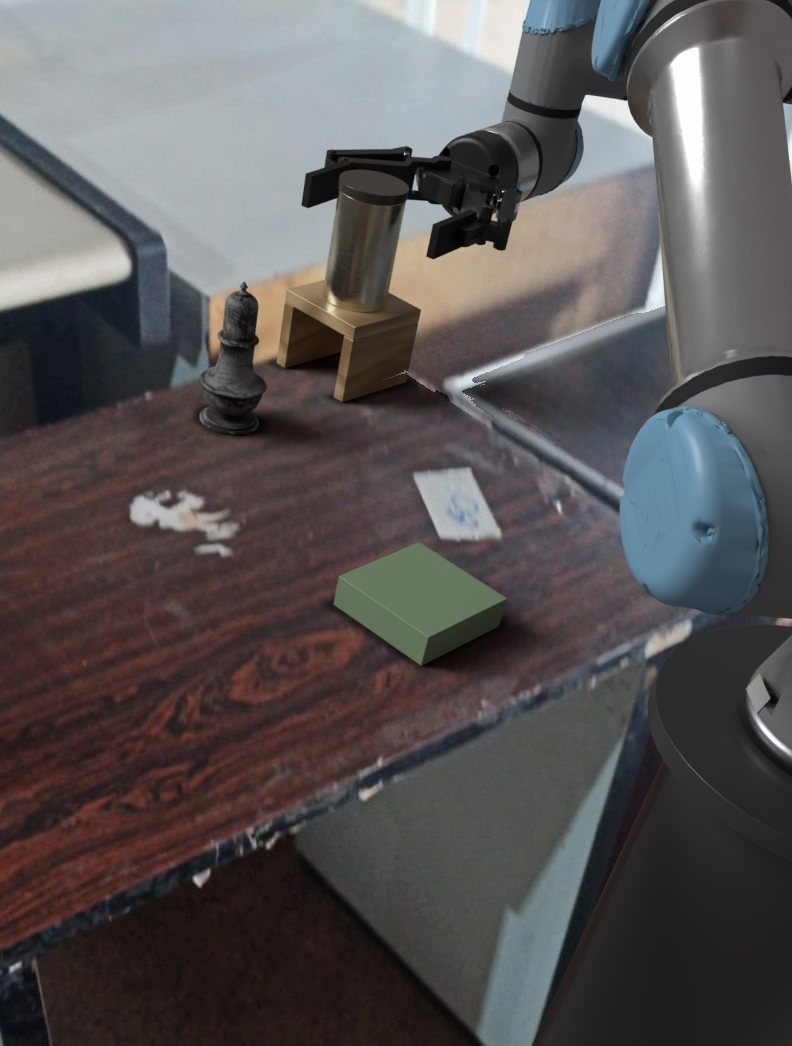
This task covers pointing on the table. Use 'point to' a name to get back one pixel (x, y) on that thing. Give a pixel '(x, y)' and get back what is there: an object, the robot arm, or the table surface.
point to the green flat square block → (419, 602)
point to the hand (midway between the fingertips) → (368, 216)
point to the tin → (364, 240)
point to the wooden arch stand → (349, 339)
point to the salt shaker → (234, 370)
